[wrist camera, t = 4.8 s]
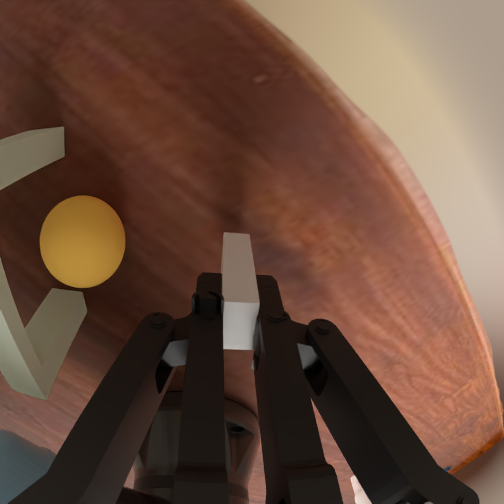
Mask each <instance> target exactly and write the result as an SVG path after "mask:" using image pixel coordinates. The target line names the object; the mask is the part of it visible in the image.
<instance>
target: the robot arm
mask: <svg viewBox="0 0 504 504" xmlns="http://www.w3.org/2000/svg"><path fill="white" fill-rule="evenodd" d="M253 344H254V355H253V361H252V366H251V369H254V375H255V385H256V395H257V405H258V415H259V424H258V420H257V418H256V417H255V415H254V414H253V413H252V412H251V411H249V410H248V409H247V408H245V407H243V406H242V405H240V404H238V403H235V402H233V401H230V400H227V399H224V360H223V349H235V350H252V349H253ZM185 364H186V366H185V376H184V386H183V392H168V393H166V390H167V388H168V386H169V384H170V382H171V380H172V378H173V375H174V373H175V371H176V369H177V366H180V365H185ZM310 397H311V398H310ZM311 399H312V401H313V402H314V404H315V406H316V408H317V409H318V411H319V413H320V415H321V417H322V418H323V420H324V422H325V424H326V426H327V427H328V429H329V431H330V433H331V434H332V436H333V438H334V440H335V441H336V443H337V445H338V447H339V449H340V450H341V452H342V454H343V456H344V457H345V459H346V461H347V463H348V464H349V466H350V468H351V470H352V471H353V473H354V475H355V476H356V478H357V480H358V482H359V483H360V485H361V487H362V489H363V490H364V492H365V494H366V495H367V497H368V499H369V500H370V502H371V503H372V504H479V498H478V495H477V494H476V493H475V491H473V490H472V489H471V488H469V487H468V486H467V485H465V484H464V483H462V482H461V481H459V480H458V479H456V478H455V477H454V476H452V475H451V474H449V473H448V472H447V471H445V470H444V469H442V468H441V467H440V466H438V465H437V463H436V462H435V460H434V459H433V457H432V456H431V455H430V453H429V452H428V450H427V449H426V448H425V446H424V445H423V443H422V442H421V440H420V439H419V438H418V436H417V435H416V433H415V432H414V431H413V429H412V428H411V427H410V425H409V424H408V422H407V421H406V420H405V418H404V417H403V415H402V414H401V413H400V411H399V410H398V409H397V407H396V406H395V404H394V403H393V402H392V400H391V399H390V398H389V396H388V395H387V394H386V392H385V391H384V389H383V388H382V387H381V385H380V384H379V383H378V381H377V380H376V379H375V377H374V376H373V375H372V373H371V372H370V371H369V369H368V368H367V366H366V365H365V364H364V362H363V361H362V360H361V358H360V357H359V356H358V354H357V353H356V352H355V350H354V349H353V348H352V346H351V345H350V344H349V342H348V341H347V340H346V338H345V337H344V336H343V335H342V333H341V332H340V331H339V329H338V328H337V327H336V325H334V324H333V323H332V322H330V321H328V320H325V319H314V320H312V321H311V322H310V323H309V324H308V325H304V324H300V323H297V322H294V321H292V320H291V318H290V316H289V314H288V313H286V312H285V311H284V308H283V304H282V300H281V296H280V292H279V289H278V284H277V281H276V280H275V279H274V278H273V277H272V276H269V275H255V268H254V261H253V255H252V248H251V242H250V235H249V234H241V233H227V232H224V235H223V248H222V262H221V273H205V272H203V273H202V274H201V275H200V276H199V277H198V280H197V287H196V293H194V294H193V296H192V313H191V314H190V315H188V316H187V317H184V318H181V319H175V320H173V318H172V317H171V316H170V315H168V314H165V313H160V312H157V313H152V314H149V315H147V316H146V317H145V318H144V319H143V320H142V322H141V323H140V325H139V326H138V328H137V329H136V331H135V332H134V333H133V335H132V336H131V338H130V339H129V341H128V342H127V344H126V345H125V347H124V348H123V350H122V351H121V353H120V354H119V356H118V357H117V359H116V360H115V362H114V363H113V365H112V366H111V368H110V369H109V371H108V373H107V374H106V376H105V377H104V379H103V380H102V382H101V383H100V385H99V387H98V388H97V390H96V391H95V393H94V394H93V396H92V398H91V399H90V401H89V402H88V404H87V406H86V407H85V409H84V410H83V412H82V414H81V415H80V417H79V418H78V420H77V422H76V423H75V425H74V427H73V428H72V430H71V432H70V433H69V435H68V437H67V438H66V440H65V442H64V443H63V445H62V447H61V449H60V450H59V452H58V454H57V455H56V454H55V453H54V452H52V451H51V450H49V449H47V448H43V447H39V446H37V445H35V444H33V443H32V442H30V441H28V440H26V439H24V438H23V437H21V436H19V435H17V434H16V433H14V432H12V431H9V430H0V504H249V497H248V482H249V479H250V475H251V472H252V469H253V465H254V462H255V458H256V455H257V451H258V448H259V444H260V434H261V444H262V453H263V463H264V472H265V481H266V504H343V501H342V496H341V492H340V488H339V483H338V479H337V475H336V472H335V469H334V468H333V466H332V465H330V464H328V463H327V462H326V460H325V457H324V453H323V448H322V444H321V440H320V436H319V431H318V427H317V423H316V419H315V415H314V410H313V406H312V402H311ZM259 425H260V433H259ZM132 465H133V468H134V472H135V480H134V489H131V488H128V487H125V486H123V485H124V483H125V481H126V479H127V476H128V474H129V472H130V470H131V467H132Z"/></svg>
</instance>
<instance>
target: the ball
mask: <svg viewBox="0 0 504 504" xmlns="http://www.w3.org/2000/svg"><path fill="white" fill-rule="evenodd" d="M124 250H125V232H124V228H123V225H122V222H121V220H120V218H119V216H118V215H117V213H116V212H115V211H114V210H113V208H112V207H111V206H109V205H108V204H107V203H106V202H104V201H102V200H100V199H98V198H96V197H92V196H85V195H84V196H74V197H71V198H68V199H66V200H64V201H62V202H60V203H59V204H58V205H56V206H55V207H54V208H53V209H52V210H51V211H50V213H49V214H48V216H47V217H46V219H45V221H44V223H43V226H42V229H41V234H40V251H41V255H42V258H43V261H44V263H45V265H46V267H47V269H48V270H49V271H50V273H51V274H52V275H53V276H54V277H55V278H56V279H58V280H59V281H60V282H62V283H64V284H66V285H69V286H72V287H76V288H88V287H93V286H96V285H99V284H101V283H102V282H104V281H106V280H107V279H108V278H109V277H110V276H112V275H113V273H114V272H115V271H116V270H117V268H118V266H119V265H120V263H121V261H122V258H123V255H124Z"/></svg>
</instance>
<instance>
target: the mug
mask: <svg viewBox="0 0 504 504" xmlns="http://www.w3.org/2000/svg"><path fill="white" fill-rule="evenodd" d="M351 483H352V486H353V489H354V493H355V502H356V504H372V503H371V502H370V500H369V499H368V497H367V495H366V494H365V492H364V490H363V489H362V487H361V485H360V483H359V482H358V480H357V478H356V476H355V475H353V476H352V477H351Z"/></svg>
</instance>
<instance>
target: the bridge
mask: <svg viewBox="0 0 504 504" xmlns="http://www.w3.org/2000/svg"><path fill="white" fill-rule="evenodd" d="M63 157H65V151H64V127H55V128H45V129H37V130H30V131H26V132H23V133H19V134H16V135H13V136H10V137H7V138H4V139H1V140H0V190H2V189H3V188H5V187H7V186H8V185H10V184H12V183H14V182H16V181H17V180H19V179H21V178H23V177H25V176H27V175H29V174H30V173H32V172H34V171H36V170H38V169H40V168H42V167H44V166H46V165H48V164H50V163H52V162H54V161H56V160H58V159H61V158H63ZM86 314H87V308H86V304H85V300H84V296H83V292H79V291H71V290H63V289H55V288H52V289H51V290H50V292H49V293H48V295H47V296H46V297H45V299H44V300H43V302H42V303H41V305H40V306H39V308H38V309H37V311H36V312H35V314H34V315H33V317H32V318H31V320H30V321H29V323H28V324H27V326H26V327H25V329H24V326H23V324H22V321H21V319H20V316H19V313H18V311H17V308H16V305H15V303H14V300H13V297H12V294H11V291H10V288H9V285H8V282H7V279H6V275H5V272H4V269H3V265H2V262H1V258H0V371H1V372H2V374H3V376H4V377H5V379H6V381H7V382H8V384H9V385H10V387H11V389H12V390H15V391H17V392H20V393H23V394H27V395H30V396H33V397H36V398H39V399H43V400H46V401H47V398H48V396H49V393H50V391H51V388H52V386H53V384H54V381H55V379H56V377H57V374H58V372H59V370H60V367H61V365H62V363H63V361H64V359H65V356H66V354H67V352H68V350H69V348H70V346H71V344H72V342H73V339H74V337H75V335H76V333H77V331H78V329H79V327H80V325H81V323H82V321H83V319H84V317H85V315H86Z"/></svg>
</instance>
